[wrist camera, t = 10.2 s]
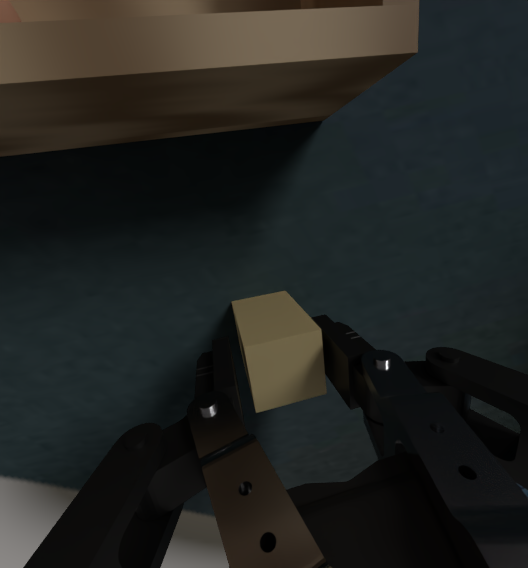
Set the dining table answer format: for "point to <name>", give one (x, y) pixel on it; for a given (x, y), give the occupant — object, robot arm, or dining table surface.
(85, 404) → the dining table surface
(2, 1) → the egg
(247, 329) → the lid
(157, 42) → the box
